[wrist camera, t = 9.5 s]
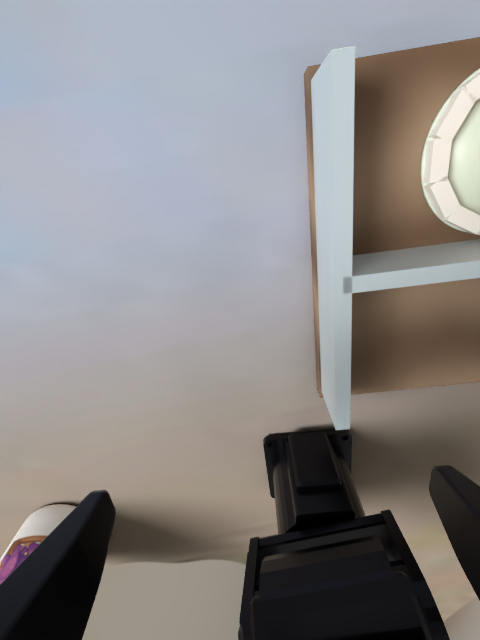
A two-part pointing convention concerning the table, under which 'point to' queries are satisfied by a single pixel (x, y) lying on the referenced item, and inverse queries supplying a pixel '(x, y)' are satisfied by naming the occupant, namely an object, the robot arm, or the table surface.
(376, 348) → the board
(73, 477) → the table surface
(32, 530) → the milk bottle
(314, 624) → the robot arm
